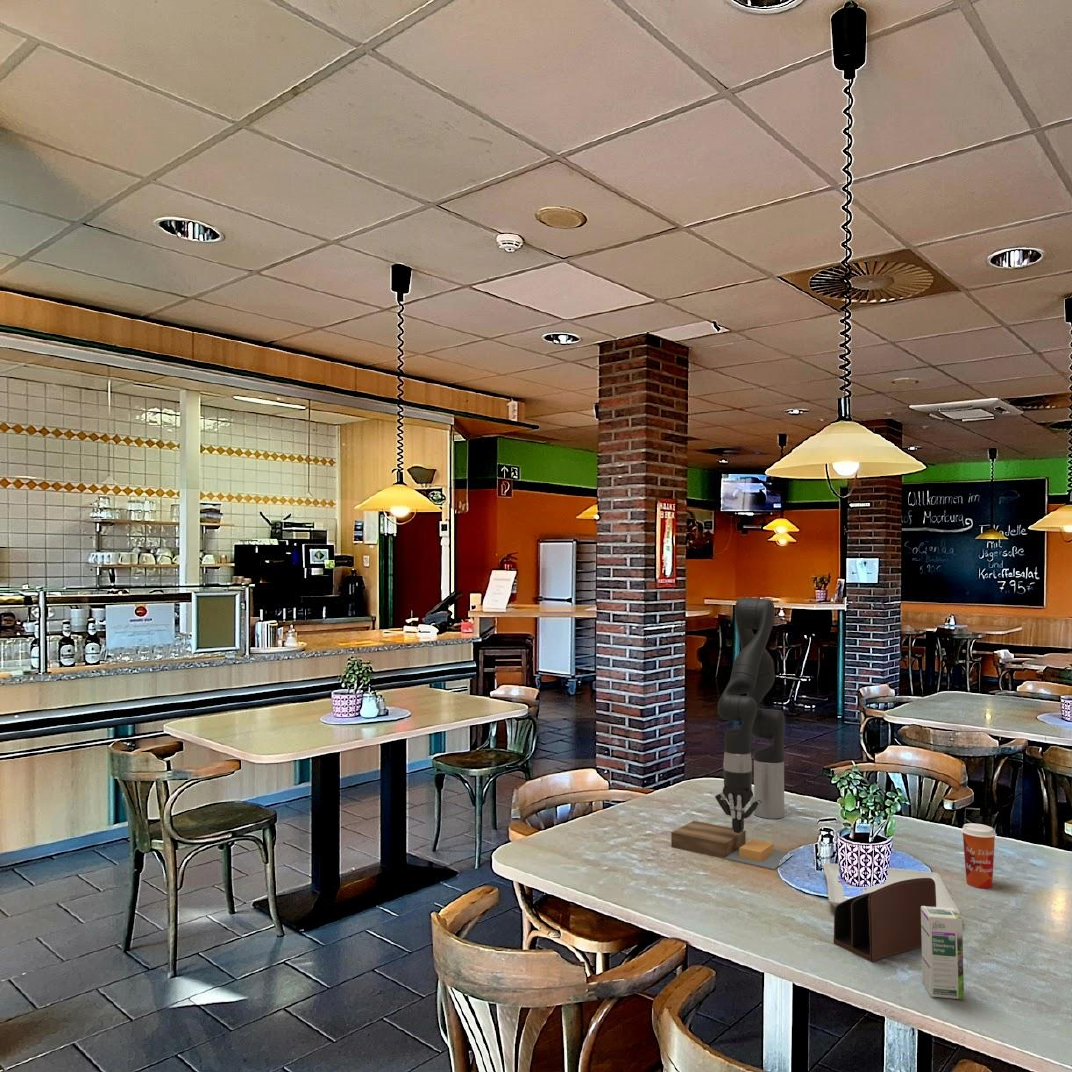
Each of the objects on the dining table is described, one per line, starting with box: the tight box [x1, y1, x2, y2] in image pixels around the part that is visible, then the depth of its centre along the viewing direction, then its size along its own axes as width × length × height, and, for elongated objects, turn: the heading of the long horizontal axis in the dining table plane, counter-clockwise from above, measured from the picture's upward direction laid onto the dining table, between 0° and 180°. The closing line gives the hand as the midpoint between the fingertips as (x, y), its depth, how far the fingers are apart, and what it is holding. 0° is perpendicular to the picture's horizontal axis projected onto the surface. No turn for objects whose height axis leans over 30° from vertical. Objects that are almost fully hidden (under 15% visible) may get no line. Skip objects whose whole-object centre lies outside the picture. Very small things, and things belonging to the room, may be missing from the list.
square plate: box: [822, 862, 961, 916], centre depth 200 cm, size 27×27×4 cm
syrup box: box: [921, 906, 965, 1001], centre depth 156 cm, size 6×6×14 cm
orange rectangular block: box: [739, 839, 775, 862], centre depth 229 cm, size 9×6×2 cm, turn 143°
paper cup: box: [961, 822, 998, 890], centre depth 210 cm, size 8×8×14 cm
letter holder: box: [833, 878, 936, 963], centre depth 176 cm, size 10×20×14 cm, turn 118°
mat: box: [723, 848, 790, 871], centre depth 228 cm, size 15×14×1 cm
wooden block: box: [670, 820, 747, 859], centre depth 237 cm, size 14×16×4 cm
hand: (737, 832), depth 232 cm, fingers closed
